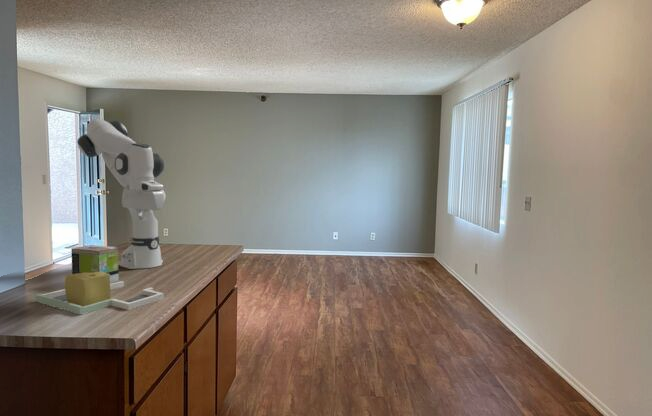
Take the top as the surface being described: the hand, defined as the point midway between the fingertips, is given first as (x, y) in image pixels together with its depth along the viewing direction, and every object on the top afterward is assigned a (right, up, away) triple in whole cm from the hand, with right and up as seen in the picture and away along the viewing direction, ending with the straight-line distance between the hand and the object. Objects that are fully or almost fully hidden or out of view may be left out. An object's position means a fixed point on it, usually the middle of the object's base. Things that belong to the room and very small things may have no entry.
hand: (142, 220), depth 159 cm
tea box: (-23, -26, +9) cm, 36 cm away
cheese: (-11, -29, -16) cm, 35 cm away
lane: (-8, -28, -12) cm, 32 cm away
